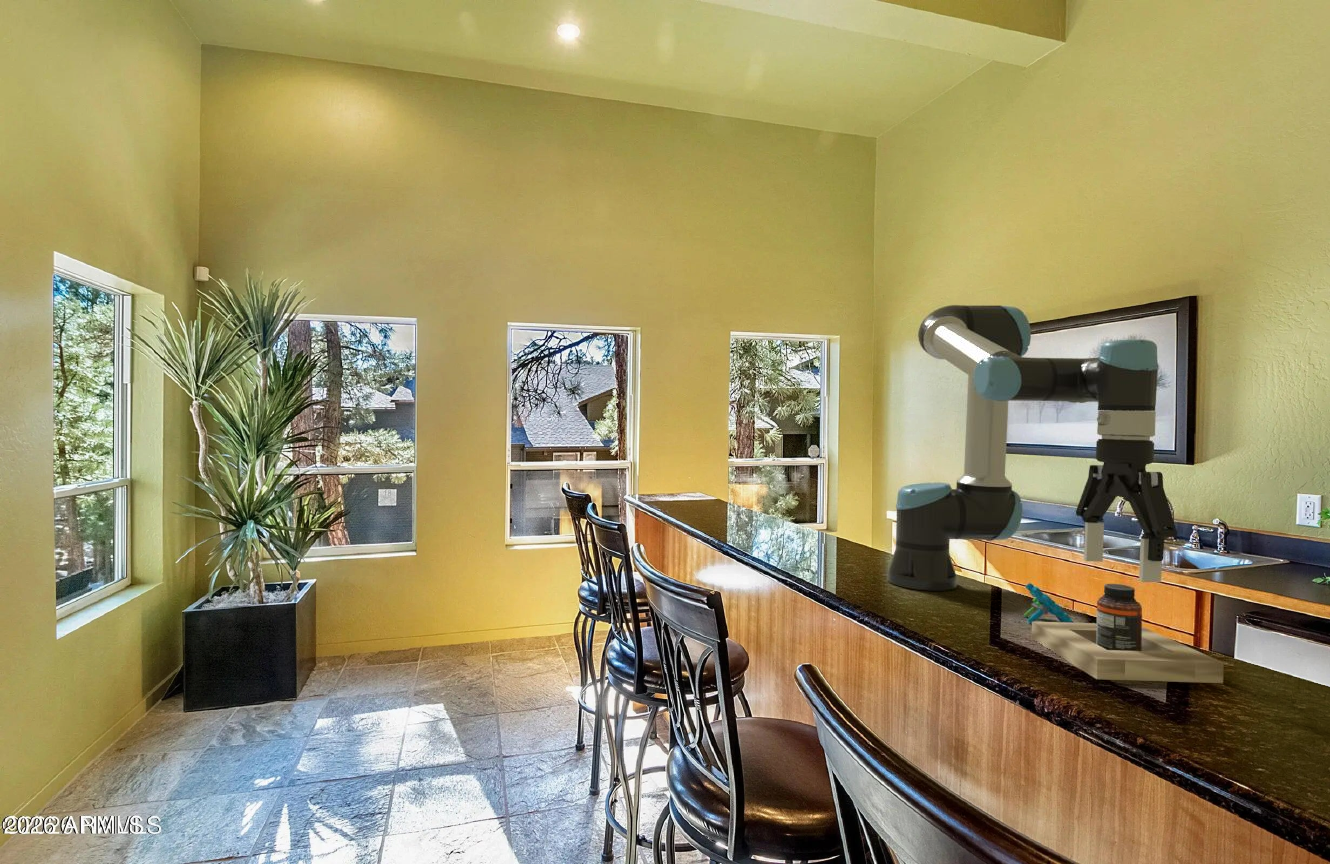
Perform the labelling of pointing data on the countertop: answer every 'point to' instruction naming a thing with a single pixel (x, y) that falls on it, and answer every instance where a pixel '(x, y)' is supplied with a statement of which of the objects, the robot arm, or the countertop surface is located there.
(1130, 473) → the robot arm
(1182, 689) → the countertop surface
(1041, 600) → the gear
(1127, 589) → the supplement bottle
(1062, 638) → the socket holder
